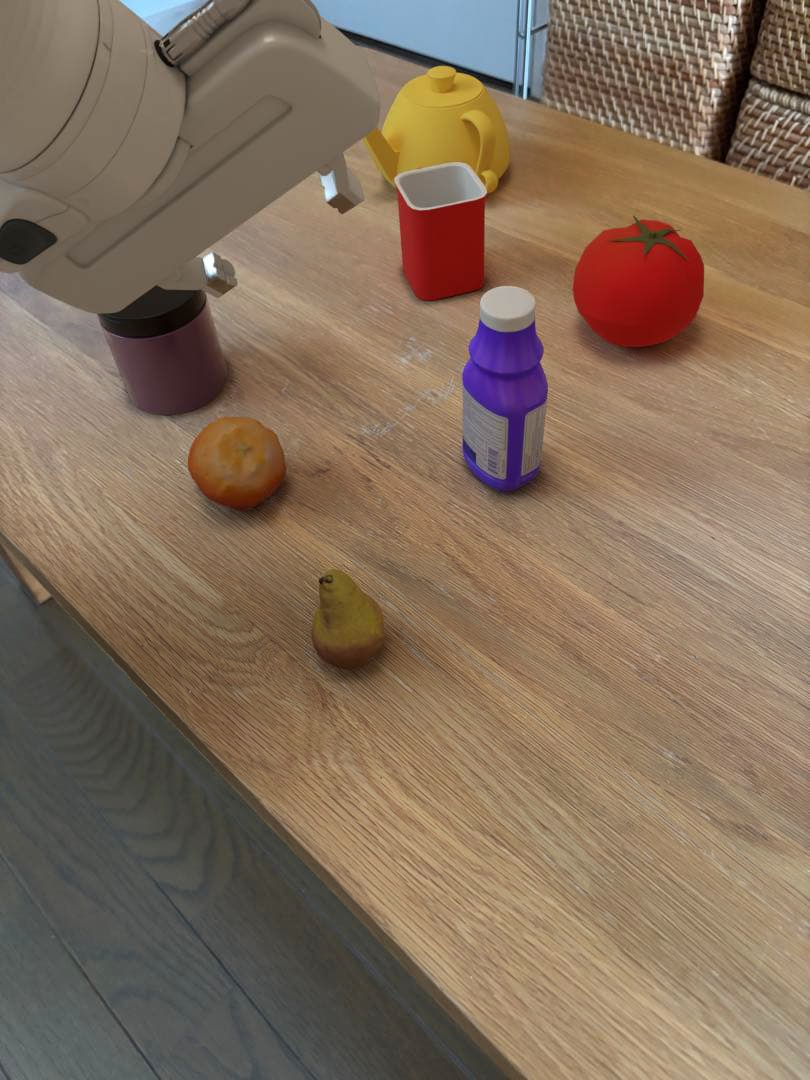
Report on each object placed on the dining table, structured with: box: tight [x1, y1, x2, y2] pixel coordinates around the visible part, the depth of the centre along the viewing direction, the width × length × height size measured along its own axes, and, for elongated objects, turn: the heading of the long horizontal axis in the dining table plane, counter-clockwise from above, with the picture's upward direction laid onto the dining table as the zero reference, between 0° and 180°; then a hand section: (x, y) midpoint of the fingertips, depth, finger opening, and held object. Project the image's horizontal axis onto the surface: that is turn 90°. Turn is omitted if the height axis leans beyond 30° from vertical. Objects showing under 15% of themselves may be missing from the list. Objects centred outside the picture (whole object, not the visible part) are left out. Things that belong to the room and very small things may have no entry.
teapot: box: [361, 65, 511, 194], centre depth 104 cm, size 20×19×13 cm
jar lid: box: [96, 285, 206, 337], centre depth 79 cm, size 10×10×2 cm
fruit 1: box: [187, 416, 287, 512], centre depth 74 cm, size 8×8×8 cm
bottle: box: [461, 285, 549, 493], centre depth 69 cm, size 7×6×17 cm
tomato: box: [572, 215, 705, 348], centre depth 84 cm, size 13×12×11 cm
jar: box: [98, 292, 229, 416], centre depth 83 cm, size 10×10×10 cm
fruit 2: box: [310, 568, 385, 670], centre depth 60 cm, size 6×6×12 cm
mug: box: [394, 162, 488, 302], centre depth 93 cm, size 12×8×11 cm
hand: (287, 241), depth 49 cm, fingers open, 8 cm apart
